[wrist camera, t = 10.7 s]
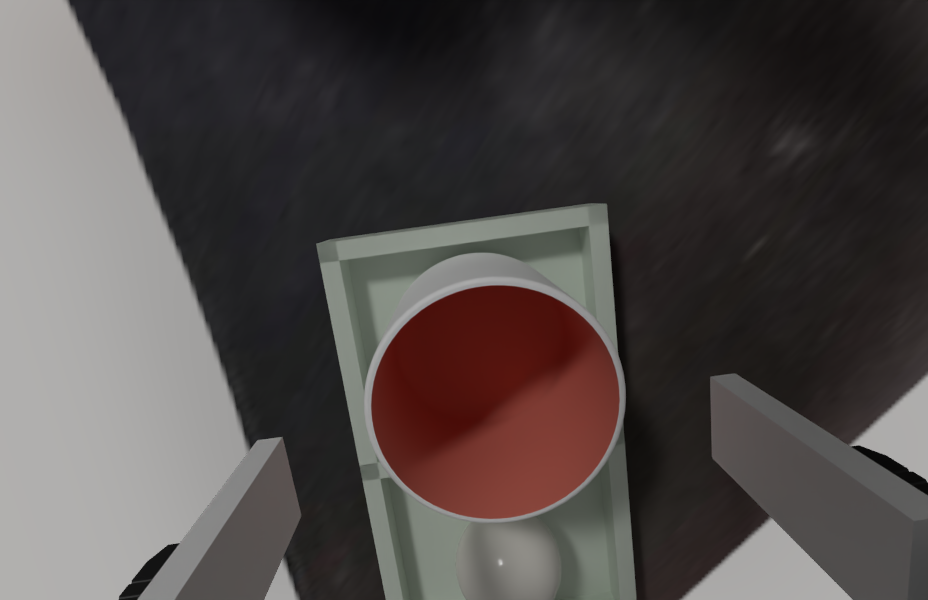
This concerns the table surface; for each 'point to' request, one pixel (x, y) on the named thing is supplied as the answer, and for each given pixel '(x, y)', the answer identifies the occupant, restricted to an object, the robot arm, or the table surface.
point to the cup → (492, 392)
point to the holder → (357, 338)
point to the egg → (508, 561)
